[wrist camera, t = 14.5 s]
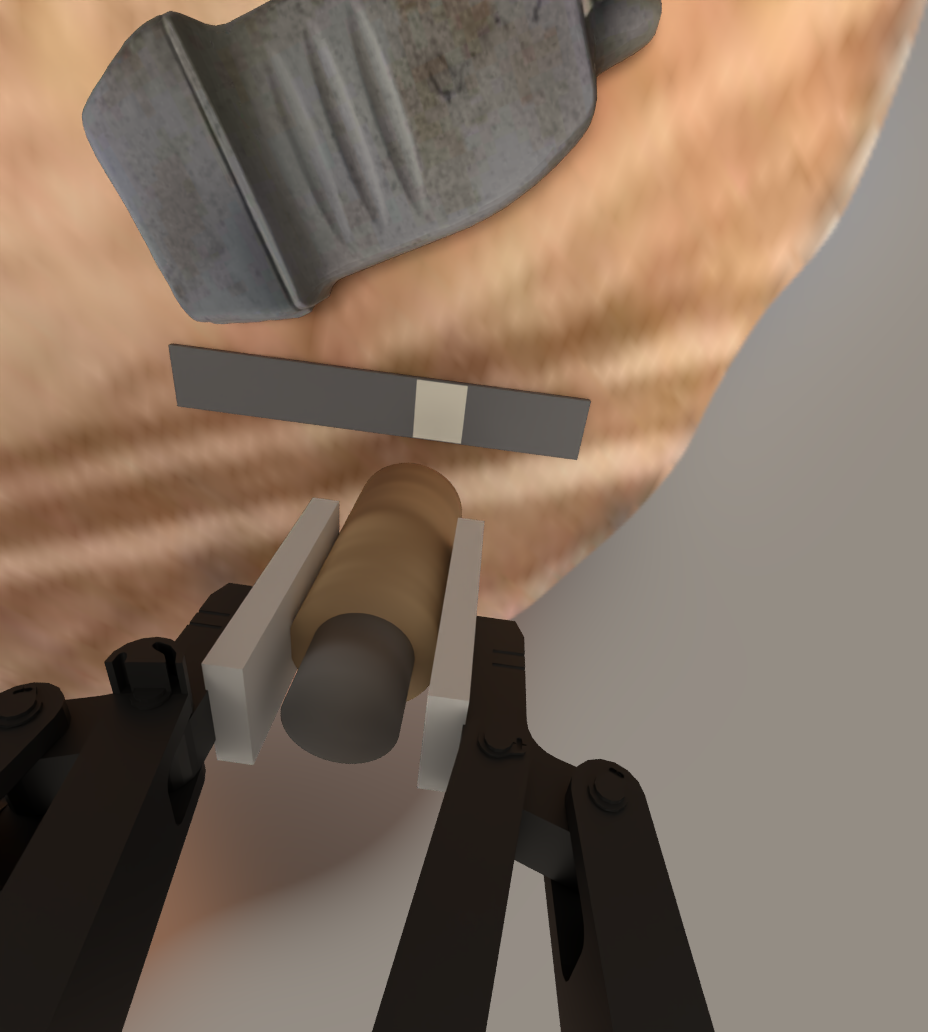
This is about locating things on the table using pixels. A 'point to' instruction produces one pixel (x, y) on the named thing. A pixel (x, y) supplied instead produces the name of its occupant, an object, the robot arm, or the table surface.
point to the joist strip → (378, 402)
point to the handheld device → (341, 133)
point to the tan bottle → (373, 617)
